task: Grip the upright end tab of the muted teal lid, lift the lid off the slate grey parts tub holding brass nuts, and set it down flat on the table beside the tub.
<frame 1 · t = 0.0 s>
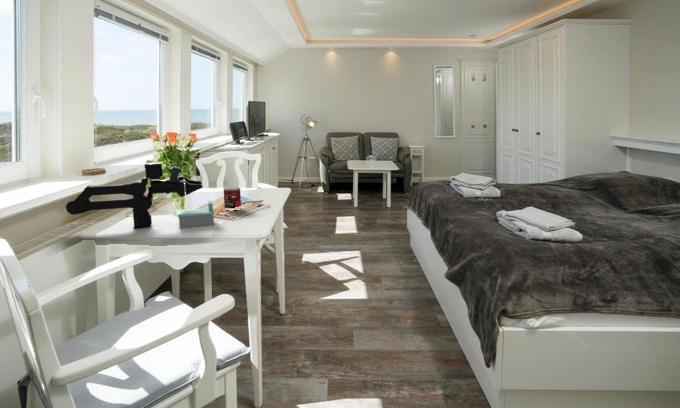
hand: (201, 184, 207), 17 cm above the table, tool horizontal, fingers open, 9 cm apart
tub: (196, 224, 206), on the table
canned food: (232, 210, 234), on the table
lid: (195, 214, 205), point 4 cm above the table, touching tub
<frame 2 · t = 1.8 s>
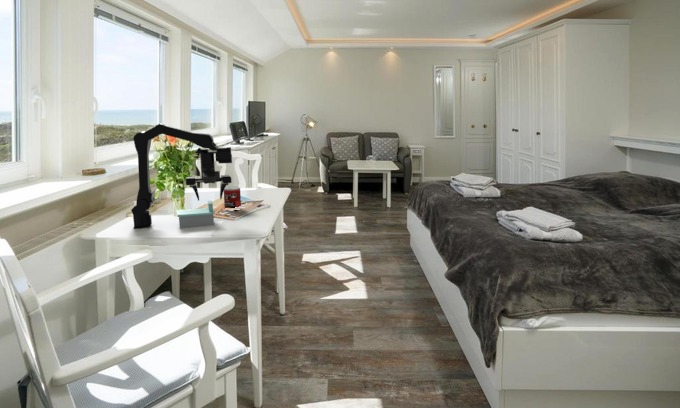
hand: (209, 199, 205), 10 cm above the table, tool pointing down, fingers open, 9 cm apart
nothing on the table moved.
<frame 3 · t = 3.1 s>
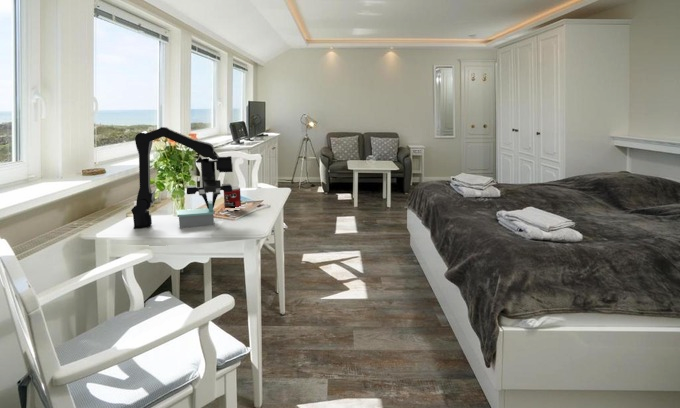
hand: (210, 208, 206), 7 cm above the table, tool pointing down, fingers closed on lid
lid: (195, 214, 205), point 4 cm above the table, touching gripper, tub
everything else where it was.
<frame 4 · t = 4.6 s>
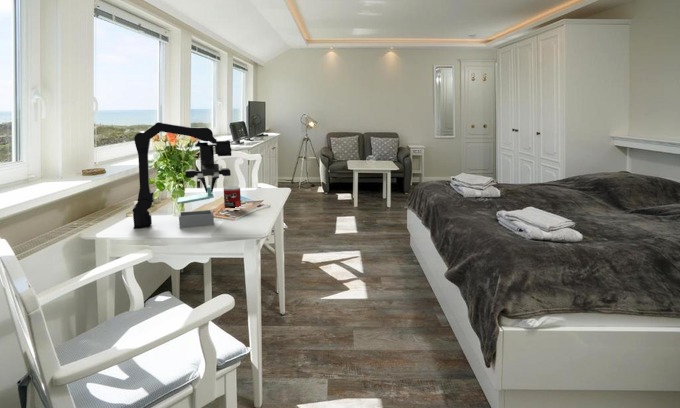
hand: (209, 192, 208), 13 cm above the table, tool pointing down, fingers closed on lid
lid: (195, 199, 207), point 10 cm above the table, tilted 7°, touching gripper
everything else where it was.
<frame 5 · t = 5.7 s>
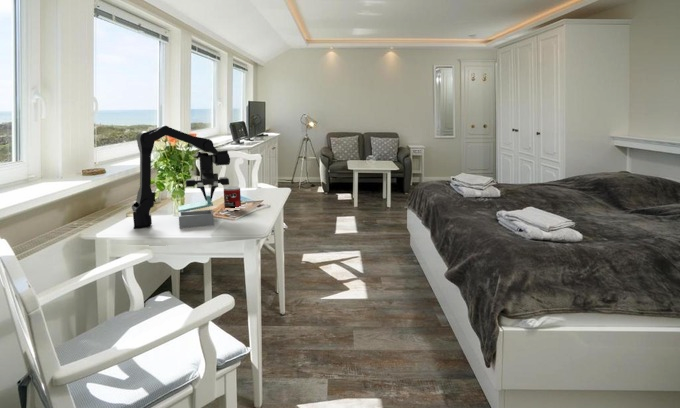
hand: (208, 200, 217), 8 cm above the table, tool pointing down, fingers closed on lid
lid: (195, 207, 216), point 5 cm above the table, tilted 8°, touching gripper
everything else where it was.
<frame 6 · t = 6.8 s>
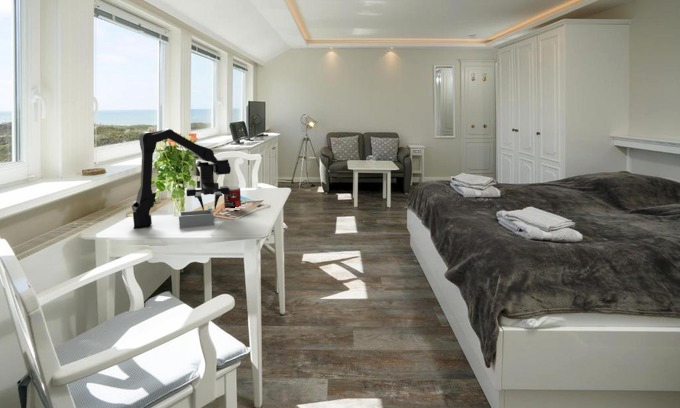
hand: (209, 209, 218), 4 cm above the table, tool pointing down, fingers open, 5 cm apart
lid: (196, 218, 217), on the table
everything else where it was.
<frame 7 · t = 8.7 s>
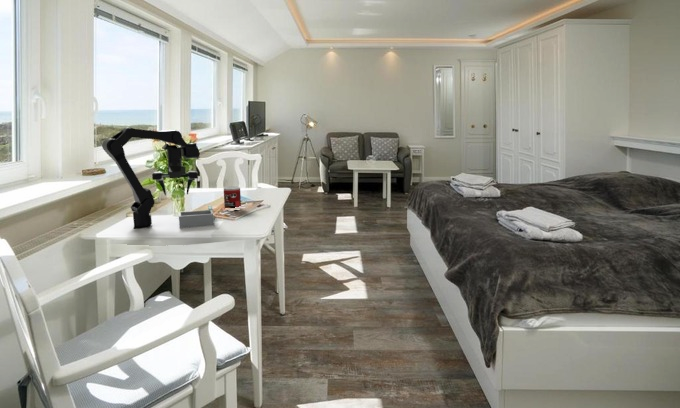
hand: (176, 194, 210), 12 cm above the table, tool pointing down, fingers open, 9 cm apart
nothing on the table moved.
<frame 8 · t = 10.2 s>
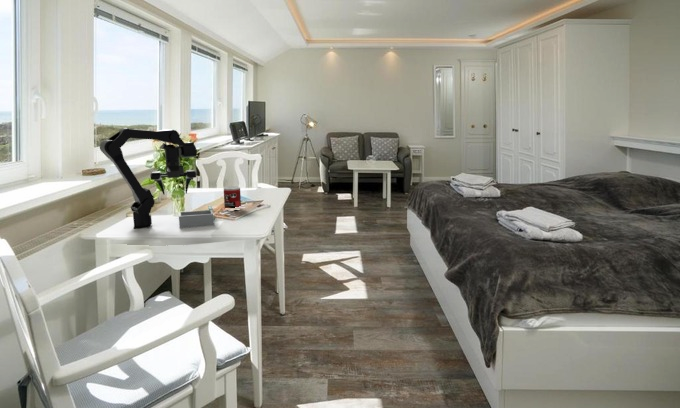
hand: (175, 194, 210), 12 cm above the table, tool pointing down, fingers open, 9 cm apart
nothing on the table moved.
at the end: lid inside the target area (0.6 cm from its centre), on the table; lid touching table; lid tilted 0° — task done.
